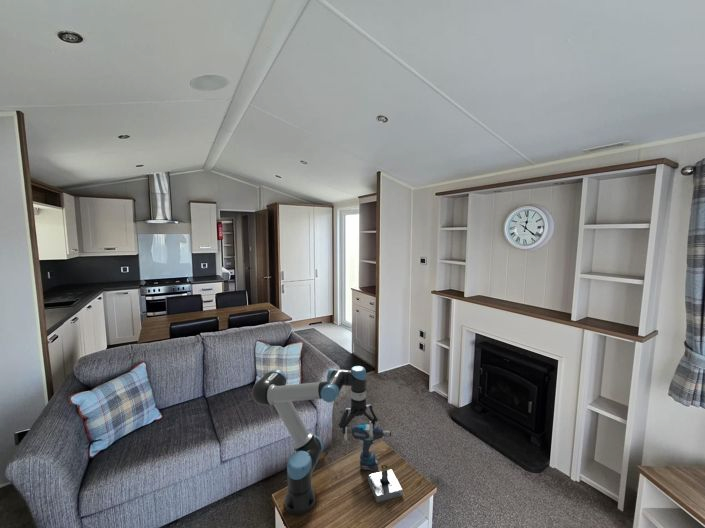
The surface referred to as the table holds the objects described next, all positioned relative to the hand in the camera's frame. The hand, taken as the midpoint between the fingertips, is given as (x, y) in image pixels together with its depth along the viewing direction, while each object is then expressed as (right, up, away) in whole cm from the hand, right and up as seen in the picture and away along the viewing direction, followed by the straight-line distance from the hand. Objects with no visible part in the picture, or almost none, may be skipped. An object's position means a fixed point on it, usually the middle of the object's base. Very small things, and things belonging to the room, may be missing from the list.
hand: (358, 436), depth 160 cm
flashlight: (+14, -30, +6) cm, 34 cm away
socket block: (+14, -30, +6) cm, 34 cm away
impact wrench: (+8, -29, +20) cm, 36 cm away
